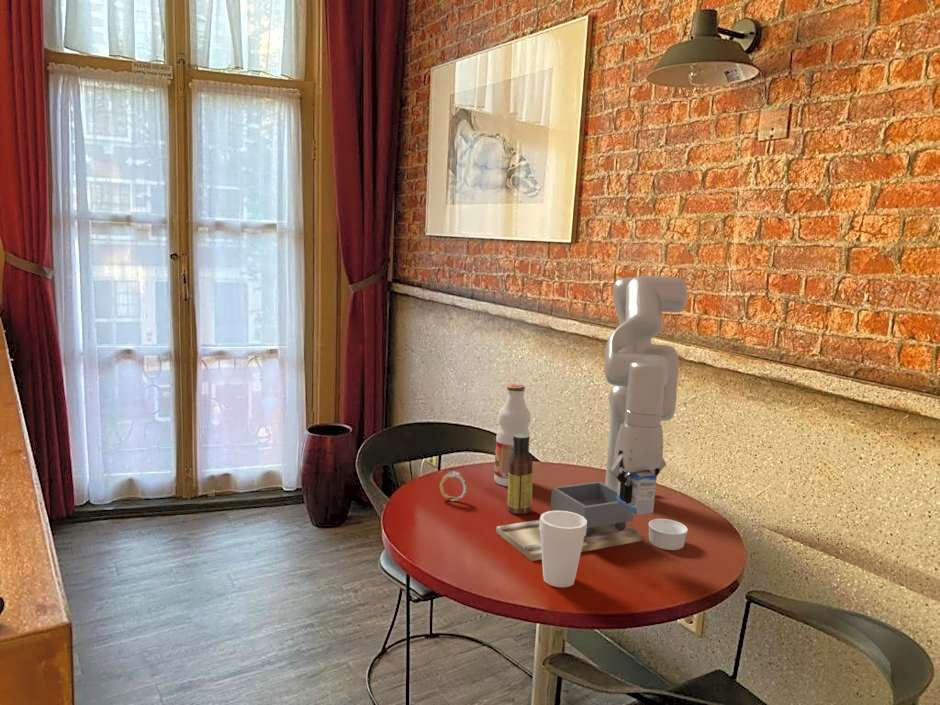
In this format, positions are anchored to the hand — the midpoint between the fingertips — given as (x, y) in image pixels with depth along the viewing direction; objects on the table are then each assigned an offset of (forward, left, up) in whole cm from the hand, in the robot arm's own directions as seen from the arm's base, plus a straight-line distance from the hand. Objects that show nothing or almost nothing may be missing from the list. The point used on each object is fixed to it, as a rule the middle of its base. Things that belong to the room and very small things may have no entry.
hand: (635, 498), depth 154 cm
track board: (+6, -14, -14) cm, 21 cm away
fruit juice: (0, -52, -14) cm, 54 cm away
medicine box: (0, 0, -2) cm, 2 cm away
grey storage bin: (0, -14, -11) cm, 18 cm away
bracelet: (+22, -44, -14) cm, 52 cm away
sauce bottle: (+9, -32, -14) cm, 37 cm away
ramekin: (-14, -3, -14) cm, 20 cm away
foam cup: (+21, +3, -14) cm, 25 cm away
